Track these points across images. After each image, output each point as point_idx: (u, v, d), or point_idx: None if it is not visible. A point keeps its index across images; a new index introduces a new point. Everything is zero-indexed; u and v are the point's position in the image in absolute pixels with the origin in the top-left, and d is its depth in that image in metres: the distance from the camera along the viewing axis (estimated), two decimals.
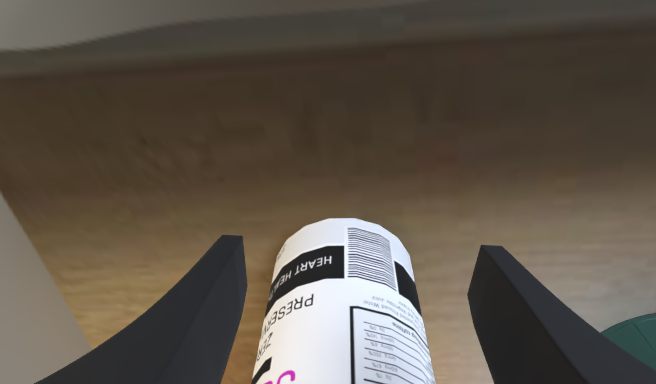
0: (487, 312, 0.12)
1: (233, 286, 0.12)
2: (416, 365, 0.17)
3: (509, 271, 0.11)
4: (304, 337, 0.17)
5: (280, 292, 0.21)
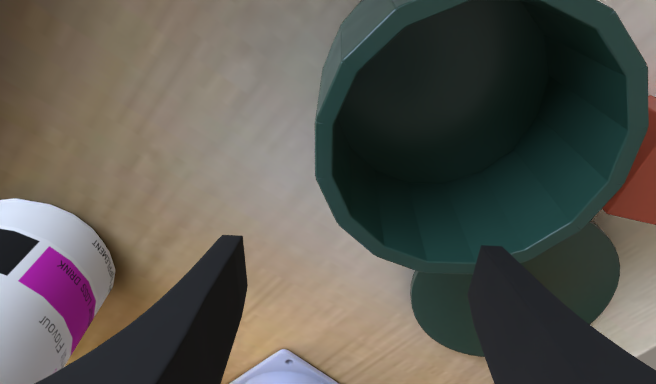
0: (487, 312, 0.12)
1: (233, 286, 0.12)
2: None
3: (509, 271, 0.11)
4: None
5: None
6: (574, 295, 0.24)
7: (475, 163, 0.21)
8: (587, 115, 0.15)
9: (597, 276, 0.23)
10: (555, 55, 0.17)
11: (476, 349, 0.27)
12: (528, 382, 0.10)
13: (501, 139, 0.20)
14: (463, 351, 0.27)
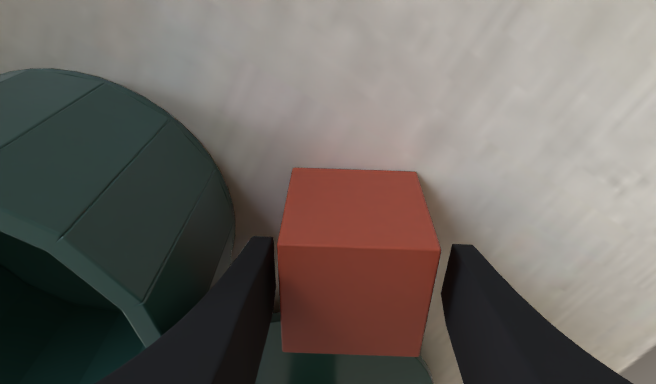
0: (457, 310, 0.12)
1: (265, 287, 0.12)
2: None
3: (476, 270, 0.11)
4: None
5: None
6: None
7: None
8: None
9: (400, 377, 0.18)
10: None
11: None
12: (491, 380, 0.10)
13: None
14: None
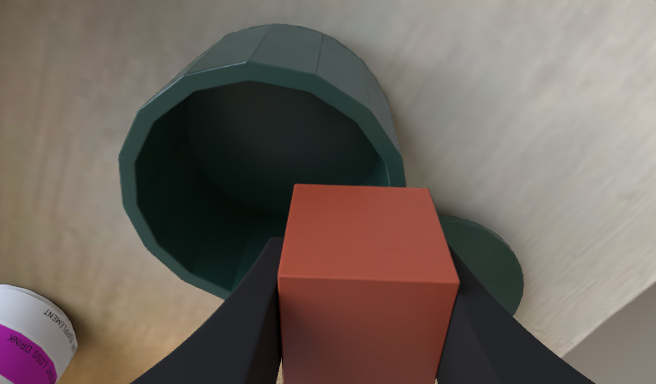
0: None
1: None
2: None
3: None
4: None
5: None
6: None
7: None
8: None
9: (498, 271, 0.24)
10: None
11: None
12: (460, 379, 0.10)
13: (356, 165, 0.21)
14: None
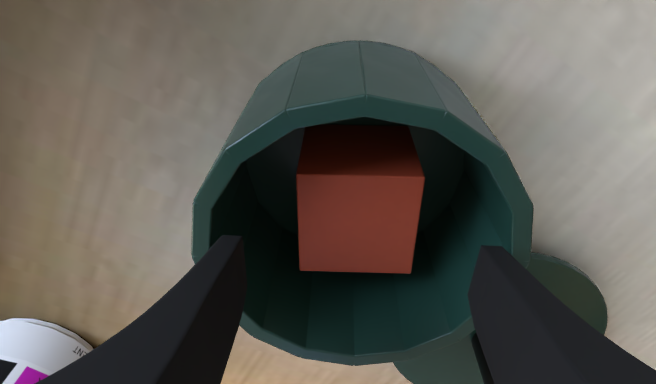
0: (487, 312, 0.12)
1: (233, 286, 0.12)
2: None
3: (509, 271, 0.11)
4: None
5: None
6: None
7: None
8: (488, 184, 0.14)
9: (581, 311, 0.22)
10: None
11: None
12: (528, 382, 0.10)
13: (433, 197, 0.19)
14: None
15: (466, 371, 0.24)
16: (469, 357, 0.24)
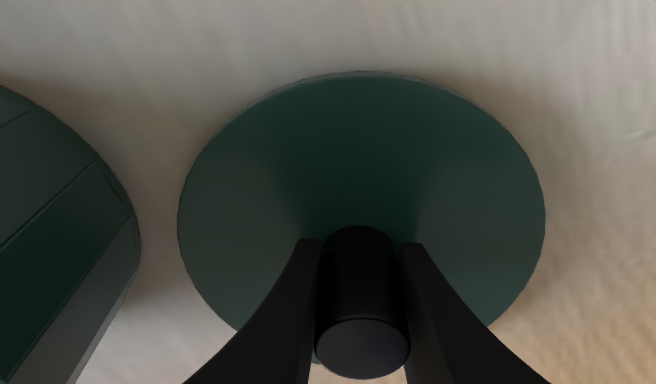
0: None
1: (316, 290, 0.12)
2: None
3: (417, 267, 0.11)
4: None
5: None
6: (424, 171, 0.12)
7: None
8: None
9: (395, 124, 0.11)
10: None
11: None
12: (424, 378, 0.10)
13: None
14: None
15: None
16: None
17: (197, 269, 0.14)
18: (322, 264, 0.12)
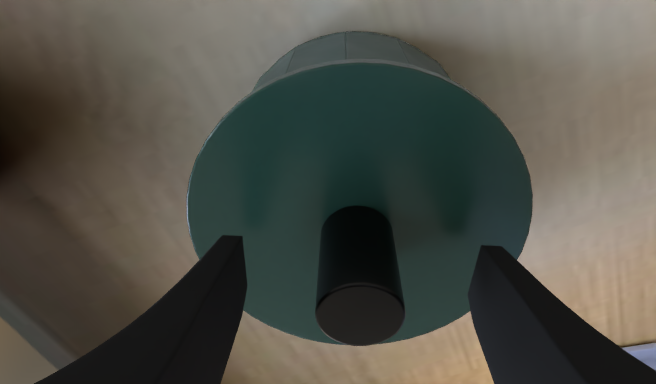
0: (487, 312, 0.12)
1: (233, 286, 0.12)
2: None
3: (509, 271, 0.11)
4: None
5: None
6: (418, 153, 0.13)
7: None
8: None
9: (391, 108, 0.12)
10: None
11: (455, 306, 0.16)
12: (528, 382, 0.10)
13: None
14: (447, 321, 0.16)
15: None
16: None
17: (204, 248, 0.15)
18: (323, 241, 0.13)
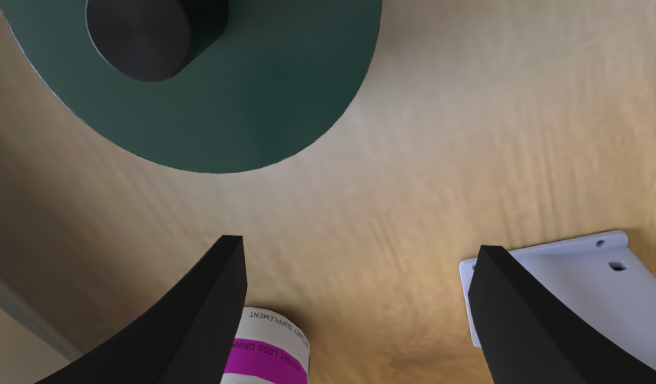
0: (487, 312, 0.12)
1: (233, 286, 0.12)
2: None
3: (509, 271, 0.11)
4: None
5: None
6: None
7: None
8: None
9: None
10: None
11: (319, 113, 0.14)
12: (528, 382, 0.10)
13: None
14: (313, 135, 0.15)
15: (249, 91, 0.14)
16: (215, 67, 0.13)
17: (22, 30, 0.13)
18: None
